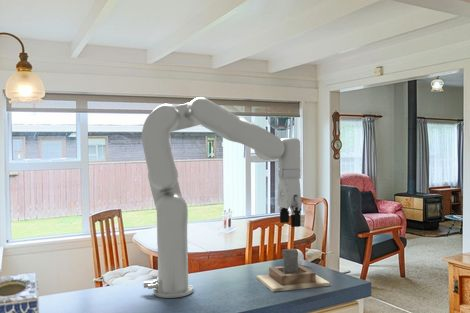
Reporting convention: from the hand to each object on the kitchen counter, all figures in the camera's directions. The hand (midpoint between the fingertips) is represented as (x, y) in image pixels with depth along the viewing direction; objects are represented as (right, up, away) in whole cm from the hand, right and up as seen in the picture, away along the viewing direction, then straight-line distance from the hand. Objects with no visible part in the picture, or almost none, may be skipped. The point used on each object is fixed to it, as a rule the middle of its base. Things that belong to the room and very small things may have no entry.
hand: (290, 224), depth 146 cm
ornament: (+5, -20, +22) cm, 30 cm away
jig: (+1, -20, 0) cm, 20 cm away
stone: (0, -19, 0) cm, 19 cm away
